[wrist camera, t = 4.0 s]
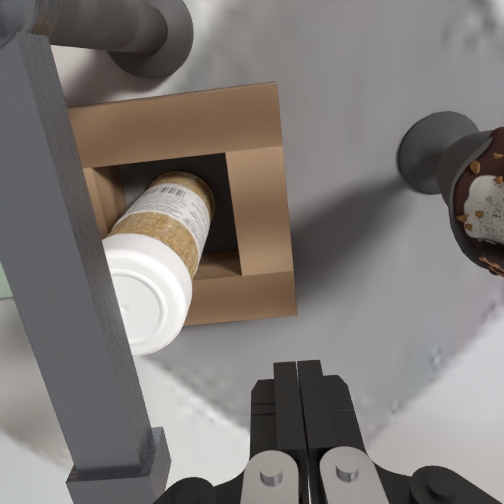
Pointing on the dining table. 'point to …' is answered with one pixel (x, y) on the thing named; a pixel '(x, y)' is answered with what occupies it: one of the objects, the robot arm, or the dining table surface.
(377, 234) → the dining table surface
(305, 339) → the dining table surface
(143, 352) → the sprinkles bottle
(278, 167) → the walnut dock
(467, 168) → the sundae
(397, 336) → the dining table surface
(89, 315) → the bar
